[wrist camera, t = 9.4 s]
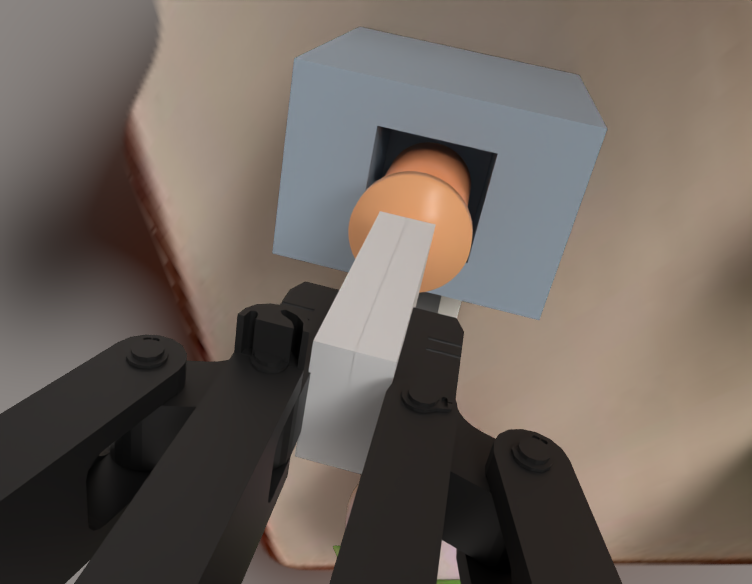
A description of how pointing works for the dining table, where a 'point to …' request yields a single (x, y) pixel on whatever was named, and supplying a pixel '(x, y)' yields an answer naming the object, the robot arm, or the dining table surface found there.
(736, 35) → the dining table surface
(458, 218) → the plunger
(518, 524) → the robot arm
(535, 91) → the housing
